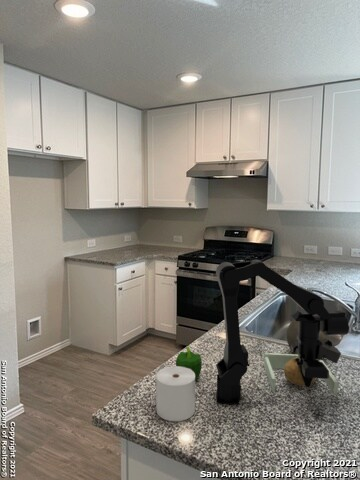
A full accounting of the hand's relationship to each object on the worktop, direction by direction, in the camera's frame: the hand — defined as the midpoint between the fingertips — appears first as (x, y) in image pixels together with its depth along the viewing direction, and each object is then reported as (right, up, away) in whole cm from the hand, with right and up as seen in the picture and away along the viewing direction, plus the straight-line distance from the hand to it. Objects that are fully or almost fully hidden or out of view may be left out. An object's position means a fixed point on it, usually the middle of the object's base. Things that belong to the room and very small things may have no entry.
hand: (307, 386), depth 100 cm
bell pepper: (-34, -2, +11) cm, 36 cm away
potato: (+1, -3, +9) cm, 9 cm away
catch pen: (+1, -2, +10) cm, 11 cm away
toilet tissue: (-39, -4, -6) cm, 40 cm away
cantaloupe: (+9, -1, +27) cm, 29 cm away
